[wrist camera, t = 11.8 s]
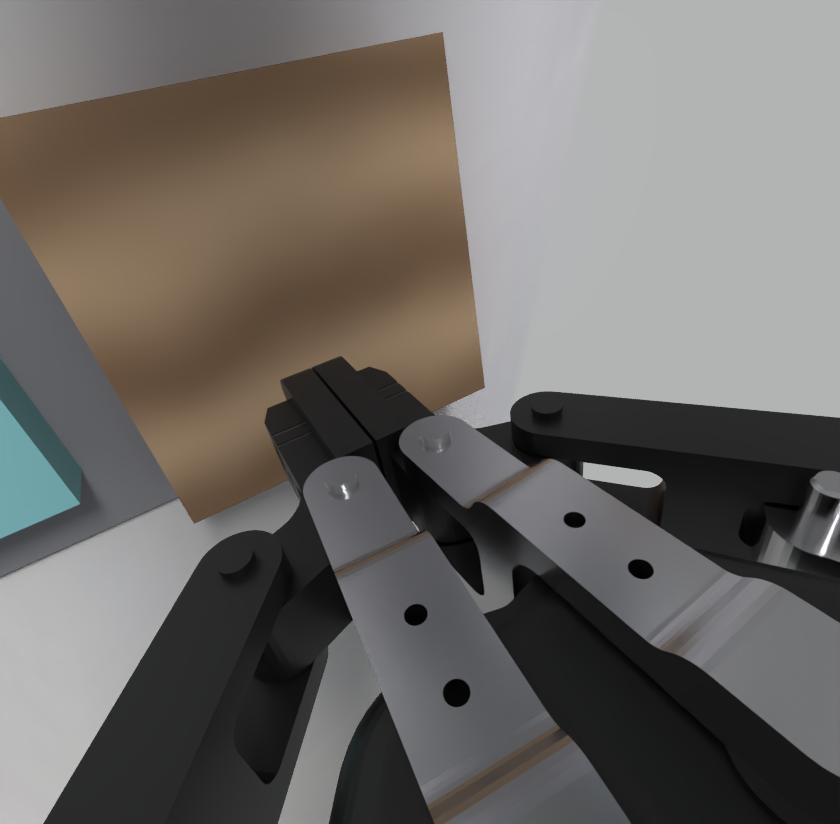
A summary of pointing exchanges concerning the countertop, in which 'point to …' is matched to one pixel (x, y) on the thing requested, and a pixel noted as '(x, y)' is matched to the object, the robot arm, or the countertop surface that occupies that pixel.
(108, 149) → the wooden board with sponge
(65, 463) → the teal foam pad
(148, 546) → the countertop surface
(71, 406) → the mat
